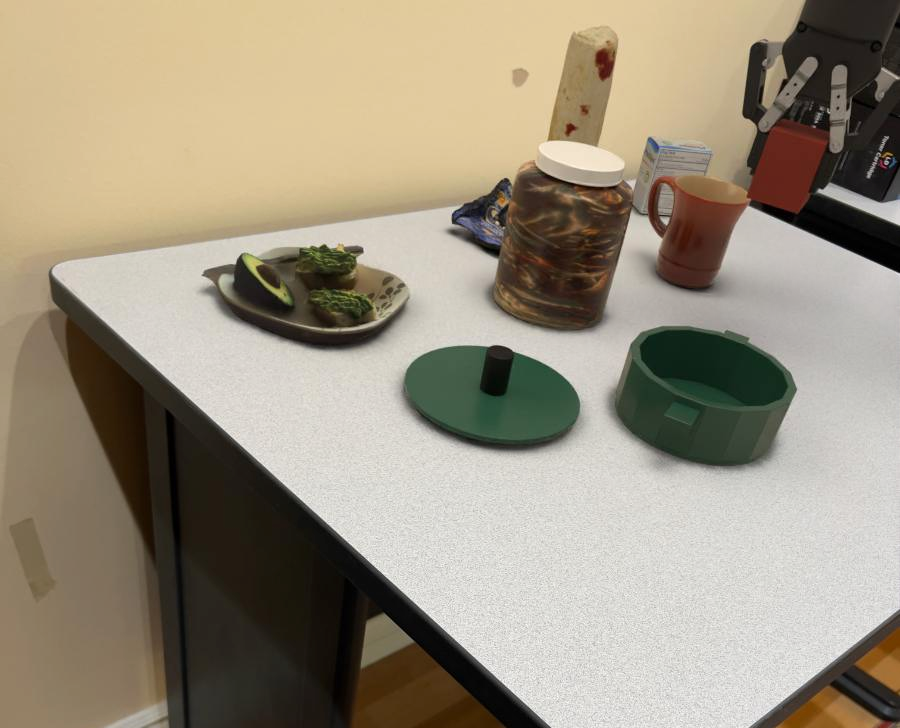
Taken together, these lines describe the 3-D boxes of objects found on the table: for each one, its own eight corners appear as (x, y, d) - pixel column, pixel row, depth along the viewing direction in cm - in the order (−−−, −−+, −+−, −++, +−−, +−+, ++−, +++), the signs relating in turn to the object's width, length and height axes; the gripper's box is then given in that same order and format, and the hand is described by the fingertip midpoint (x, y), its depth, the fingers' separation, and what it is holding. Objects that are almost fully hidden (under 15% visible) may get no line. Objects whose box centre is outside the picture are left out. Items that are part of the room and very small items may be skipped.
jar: (575, 280, 100) (611, 137, 90) (619, 330, 93) (663, 180, 82) (478, 279, 97) (504, 131, 87) (515, 331, 89) (548, 175, 79)
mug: (733, 286, 106) (766, 197, 99) (691, 300, 101) (723, 208, 94) (655, 247, 112) (682, 161, 105) (612, 258, 107) (636, 169, 100)
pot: (791, 404, 86) (815, 353, 83) (742, 502, 73) (768, 446, 69) (652, 352, 90) (669, 301, 86) (580, 436, 76) (596, 379, 73)
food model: (582, 215, 116) (625, 40, 103) (532, 205, 116) (568, 28, 103) (585, 191, 123) (626, 25, 110) (539, 181, 123) (573, 14, 110)
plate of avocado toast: (294, 240, 97) (295, 197, 94) (439, 291, 93) (446, 247, 90) (182, 300, 83) (179, 252, 80) (347, 362, 80) (351, 314, 76)
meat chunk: (807, 200, 85) (835, 133, 81) (797, 214, 82) (825, 144, 78) (758, 185, 87) (782, 118, 82) (745, 197, 83) (771, 128, 79)
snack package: (567, 255, 106) (523, 214, 113) (573, 202, 101) (527, 162, 108) (475, 276, 103) (436, 231, 110) (477, 221, 98) (436, 179, 105)
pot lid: (602, 396, 82) (616, 350, 79) (534, 473, 71) (547, 423, 68) (454, 339, 86) (462, 292, 83) (369, 403, 75) (374, 353, 72)
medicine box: (680, 206, 125) (701, 140, 119) (693, 218, 122) (715, 151, 116) (629, 202, 123) (647, 134, 117) (640, 214, 120) (660, 146, 114)
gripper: (961, -18, 72) (864, 196, 84) (791, -58, 76) (721, 152, 88) (954, -10, 67) (852, 217, 79) (772, -54, 71) (700, 169, 82)
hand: (783, 182), depth 83 cm, fingers closed on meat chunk, 5 cm apart
